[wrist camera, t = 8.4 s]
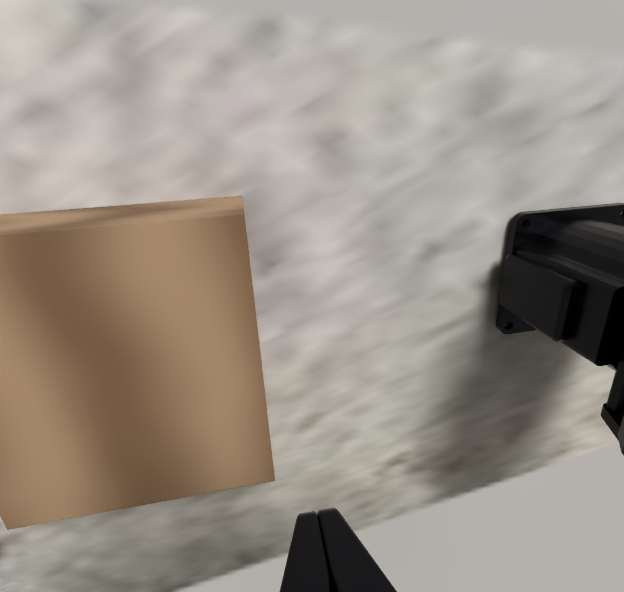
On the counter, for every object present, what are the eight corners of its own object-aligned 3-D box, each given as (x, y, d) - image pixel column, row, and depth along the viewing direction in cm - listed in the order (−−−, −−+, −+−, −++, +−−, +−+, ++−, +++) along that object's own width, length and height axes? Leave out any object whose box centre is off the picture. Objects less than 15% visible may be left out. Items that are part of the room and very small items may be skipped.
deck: (241, 196, 17) (244, 214, 13) (267, 421, 22) (274, 480, 18) (-49, 218, 15) (-136, 246, 12) (48, 457, 20) (7, 529, 16)
